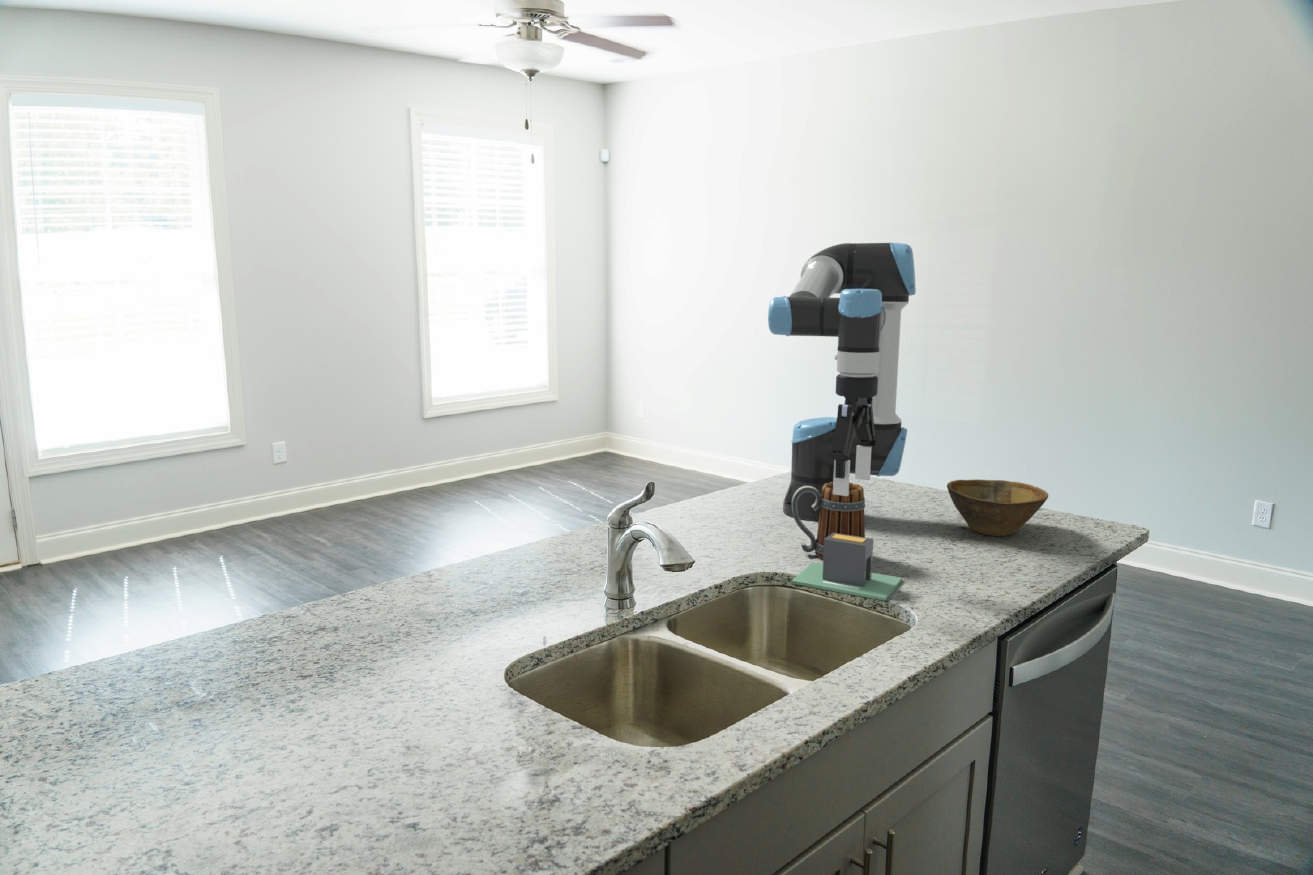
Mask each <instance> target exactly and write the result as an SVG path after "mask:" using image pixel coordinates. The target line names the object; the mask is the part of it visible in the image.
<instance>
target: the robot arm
mask: <svg viewBox="0 0 1313 875" xmlns="http://www.w3.org/2000/svg"><path fill="white" fill-rule="evenodd" d="M912 248H913V247H911V245H909V244H907V243H900V242H899V243H898V242H867V243H866V242H863V243H856V242H855V243H854V242H853V243H851V242H848V243H846V242H844V243H839V244H835V245H831V246H828V247H826V248H824V249H822V250H820V251H819V252H817V253H815V254H813V255H811V257H810V258H808V260H807V261H806V262H805V263H804V265H803V266H802V268H801V272H800V279H799V281H798V283H797V284H796V285H795V287H794V289H793V290H792V292H791V293H790V295H789V296H787V295H783V296H775V297H772V299H771V300H770V302H769V307H768V313H767V317H768V318H767V322H768V323H767V324H768V329H769V331H770V333H771V334H773V335H777V336H778V335H779V336H786V337H790V336H791V337H793V336H794V337H798V336H799V337H831V338H833V337H835V338H836V337H837V350H836V351H837V354H835V356H834V360H835V361H836V372H838V373H839V374H837V375H836V377H835V394H836V395H837V396H839V397H844V404H842V403H841V404H840V403H839V404H838V406H837V417H833V416H832V417H831V416H828V417H827V416H825V417H814V418H808V419H804V420H800V421H798V422H796V424H794V425H793V429H792V439H791V441H790V442H791V469H790V470H791V471H790V472H791V474H790V483H789V485H788V488H787V490H786V494H785V497H784V499H783V502H782V512H783V513H784V514H785V515H787V516H789V517H791V518H792V517H793V518H794V516H793V512H792V498H793V495H794V493H795V492H796V491H797V490H798V489H799V488H800V487H802V486H812V487H814V488H816V489H817V490H818V491H819V493H820V495H822V488H823V486H824V484H826V483H830V482H833V494H835V495H842V496H848V495H849V482H850V475H854V476H855V477H854V478H855V479H856V480H861V481H870V480H871V476H876V477H894V476H896V475H897V474H898V473H899V472H900V469H901V464H902V462H903V461H902V460H903V456H904V451H905V445H906V441H907V435H908V429H907V428H905V427H902V419H901V418H900V416H898V414H897V413H896V408H897V394H898V393H897V390H898V388H897V387H898V373H899V372H898V371H899V356H900V340H901V339H900V338H901V337H900V334H901V322H902V320H901V319H902V310H903V309H904V308H905V307H907V305H908V304H909V301H910V300H909V298H910V296H911V297H912V296H914V295H916V292H917V291H916V289H917V288H916V274H915V273H916V271H915V261H914V252H913V249H912ZM836 294H837V295H838V294H839V297H831V296H833V295H836ZM815 501H816V496H815V494H813V493H811V492H805V493H803V494H801V495H800V497H799V499H798V501H797V511H798V516H799V518H800V520H809V521H819V514H820V507H819V508H818V509H817V510H816V511H815V510H814V509H813V508H812V505H813V504H814V503H815Z"/></svg>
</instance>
